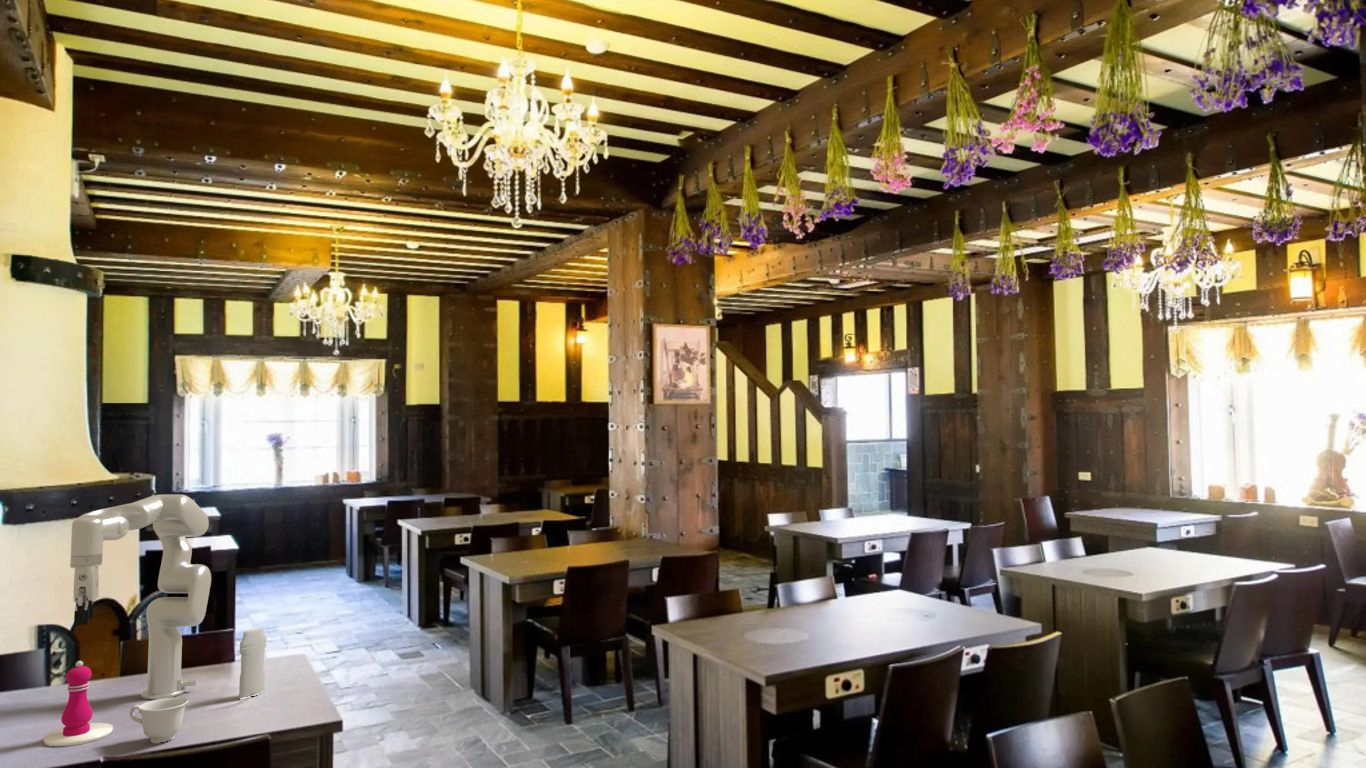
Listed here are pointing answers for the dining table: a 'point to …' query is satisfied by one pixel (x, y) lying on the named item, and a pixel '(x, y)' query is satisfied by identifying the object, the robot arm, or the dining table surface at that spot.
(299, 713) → the dining table surface
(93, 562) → the robot arm
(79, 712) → the pepper mill
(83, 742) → the plate
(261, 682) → the tall pale column
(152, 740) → the teacup
